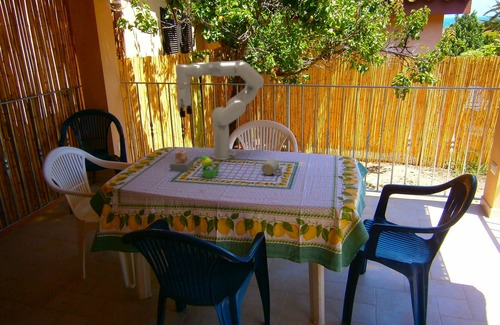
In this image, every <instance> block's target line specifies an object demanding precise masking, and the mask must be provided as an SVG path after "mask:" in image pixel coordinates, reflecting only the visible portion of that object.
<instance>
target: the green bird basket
mask: <svg viewBox="0 0 500 325" xmlns="http://www.w3.org/2000/svg"><path fill="white" fill-rule="evenodd" d="M200 160H201V165H202V166H203V167H202V168H201V173H202V175H203V178H204V179H214V178H215V177H216V175H218V173H219V169H220V166H221V165H220V164H221V163H214V162H213V163H212V161H213V159H211V158H210V157H208V156H206V155H202V157H201V159H200Z"/></svg>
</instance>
